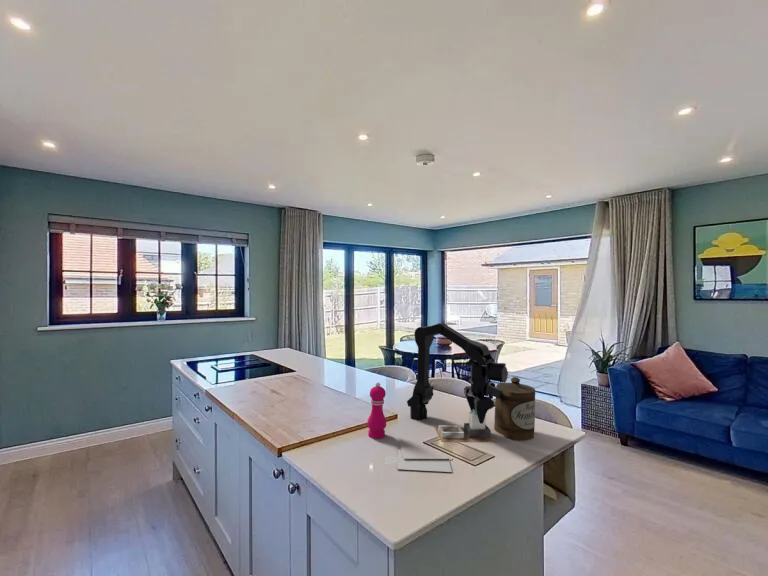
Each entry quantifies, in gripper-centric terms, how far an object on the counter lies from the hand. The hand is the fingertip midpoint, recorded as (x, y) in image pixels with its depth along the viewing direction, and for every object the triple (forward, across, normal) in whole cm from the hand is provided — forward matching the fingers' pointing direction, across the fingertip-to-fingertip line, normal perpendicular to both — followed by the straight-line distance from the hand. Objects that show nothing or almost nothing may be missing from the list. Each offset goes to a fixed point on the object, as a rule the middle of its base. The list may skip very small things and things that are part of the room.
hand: (477, 418), depth 142 cm
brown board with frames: (+7, 0, +5) cm, 9 cm away
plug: (+6, 0, 0) cm, 6 cm away
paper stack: (+8, -24, +28) cm, 38 cm away
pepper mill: (+7, +1, +38) cm, 39 cm away
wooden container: (+7, +4, -16) cm, 18 cm away
